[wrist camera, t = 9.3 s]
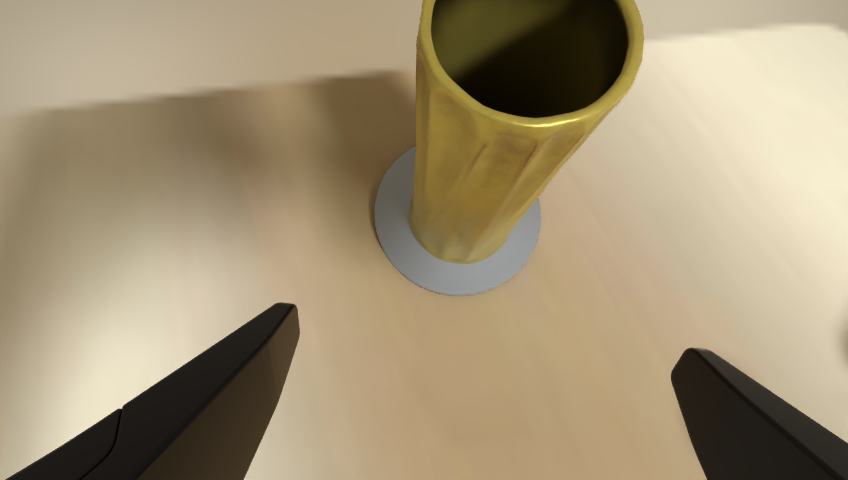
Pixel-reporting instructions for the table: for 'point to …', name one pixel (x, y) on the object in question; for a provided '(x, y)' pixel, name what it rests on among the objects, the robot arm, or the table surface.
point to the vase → (508, 108)
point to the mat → (422, 264)
